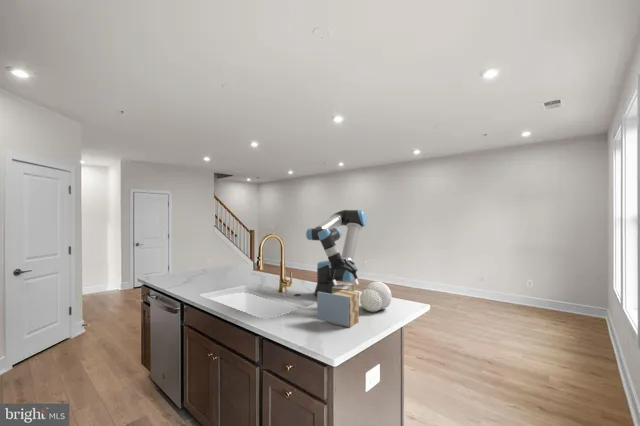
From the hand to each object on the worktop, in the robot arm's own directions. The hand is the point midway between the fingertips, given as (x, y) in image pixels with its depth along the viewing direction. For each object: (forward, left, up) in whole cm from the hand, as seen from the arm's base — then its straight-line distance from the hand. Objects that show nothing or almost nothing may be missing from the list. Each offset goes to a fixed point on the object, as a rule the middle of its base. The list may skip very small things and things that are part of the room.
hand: (347, 287), depth 178 cm
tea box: (+6, -2, -13) cm, 14 cm away
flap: (+27, -6, -11) cm, 30 cm away
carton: (+24, 0, -12) cm, 27 cm away
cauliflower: (0, +17, -13) cm, 21 cm away
